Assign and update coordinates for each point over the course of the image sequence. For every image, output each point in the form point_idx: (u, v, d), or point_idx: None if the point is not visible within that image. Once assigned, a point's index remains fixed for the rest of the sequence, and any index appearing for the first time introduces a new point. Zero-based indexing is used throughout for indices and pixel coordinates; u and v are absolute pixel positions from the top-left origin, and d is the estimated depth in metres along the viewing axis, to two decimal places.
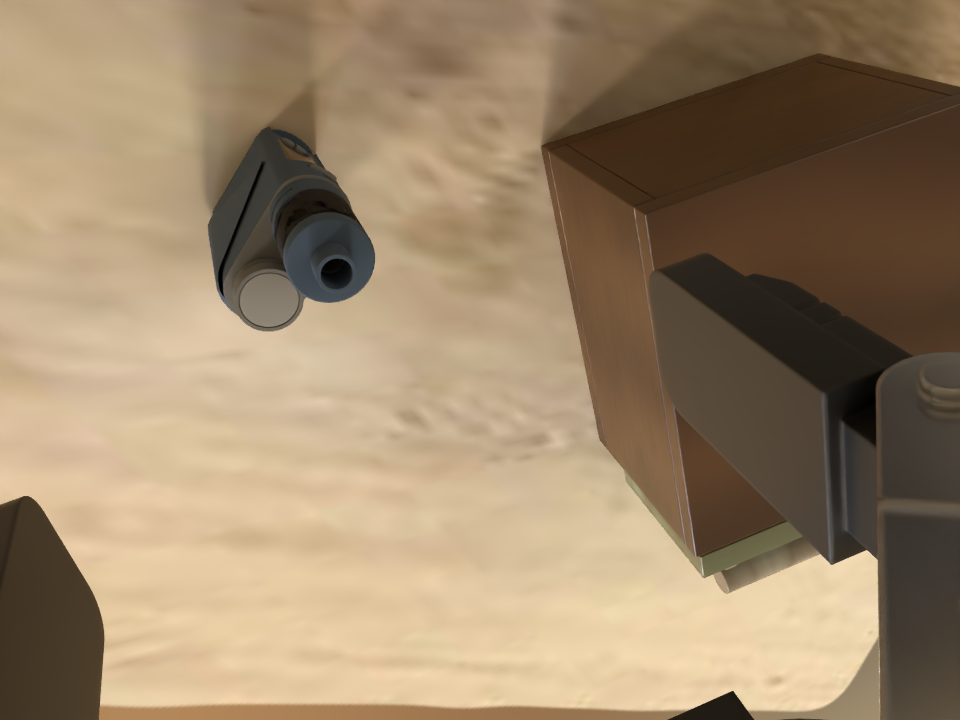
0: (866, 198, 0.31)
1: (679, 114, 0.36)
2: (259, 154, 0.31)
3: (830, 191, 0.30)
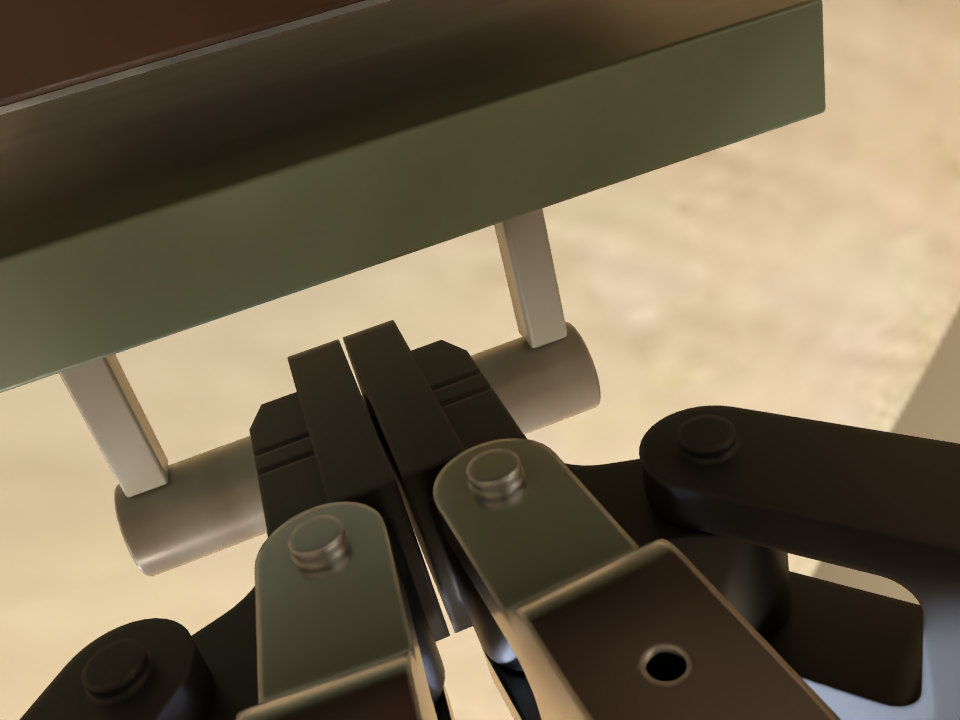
0: None
1: None
2: None
3: None
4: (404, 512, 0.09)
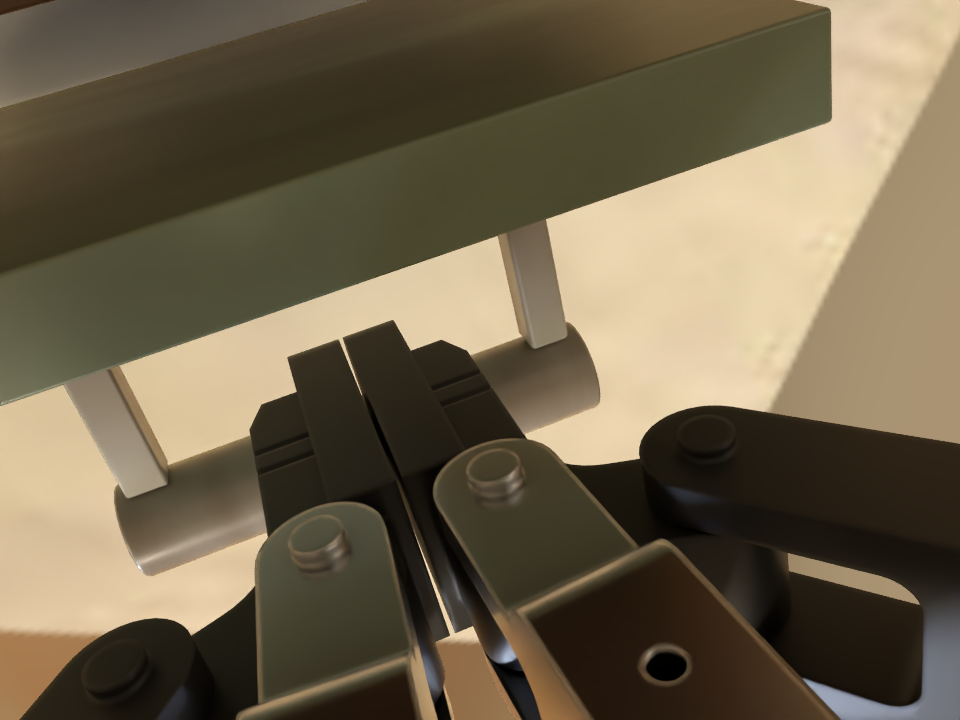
0: None
1: None
2: None
3: None
4: (404, 512, 0.09)
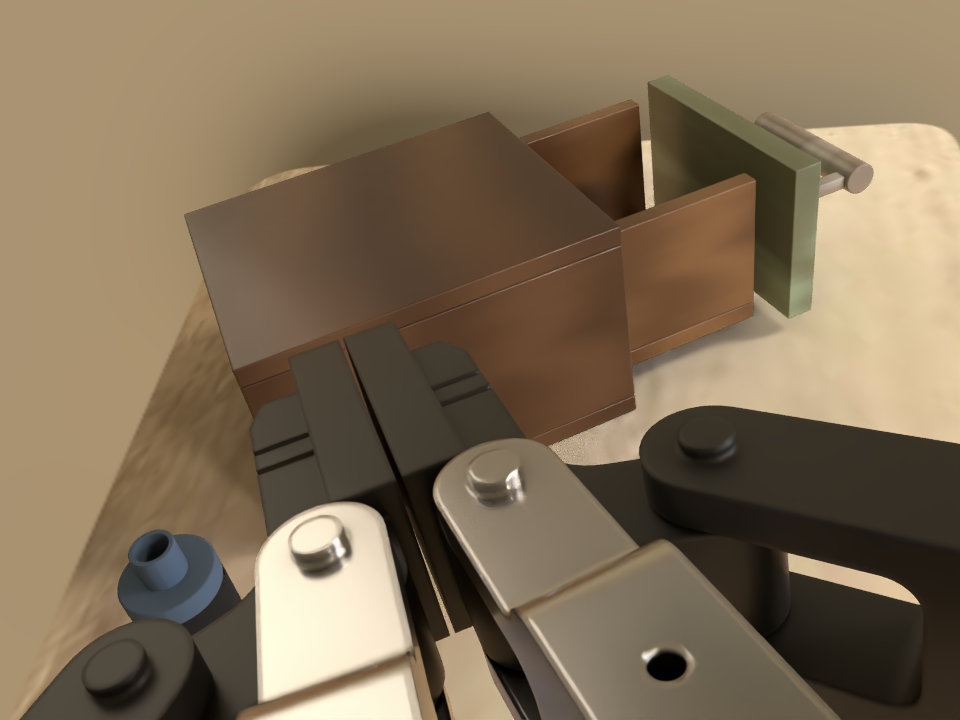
0: (251, 244, 0.37)
1: None
2: None
3: (240, 266, 0.36)
4: (404, 512, 0.09)
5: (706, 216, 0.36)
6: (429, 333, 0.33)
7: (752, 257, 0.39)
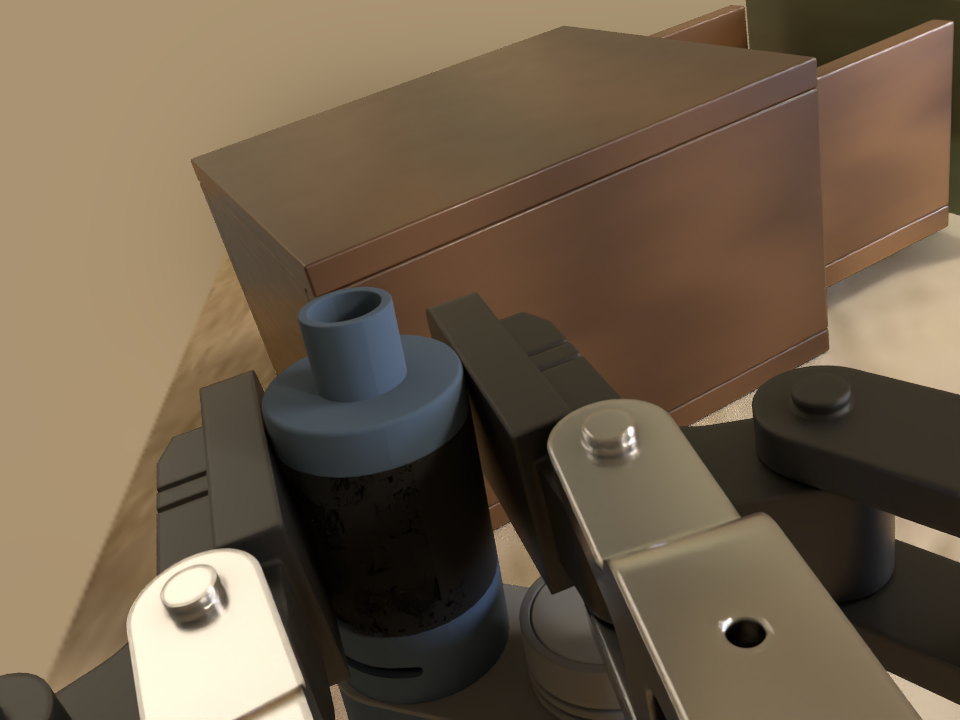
0: (292, 163, 0.27)
1: None
2: None
3: (282, 181, 0.26)
4: (294, 556, 0.09)
5: (899, 71, 0.27)
6: (577, 215, 0.22)
7: (948, 137, 0.29)
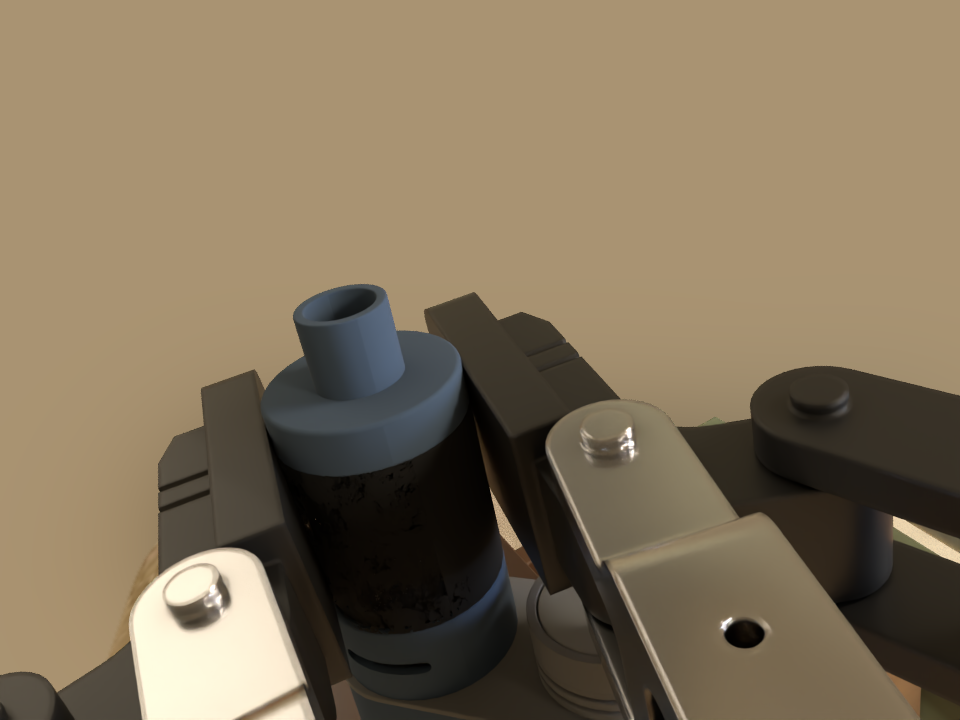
0: None
1: None
2: None
3: None
4: (296, 555, 0.09)
5: None
6: None
7: None
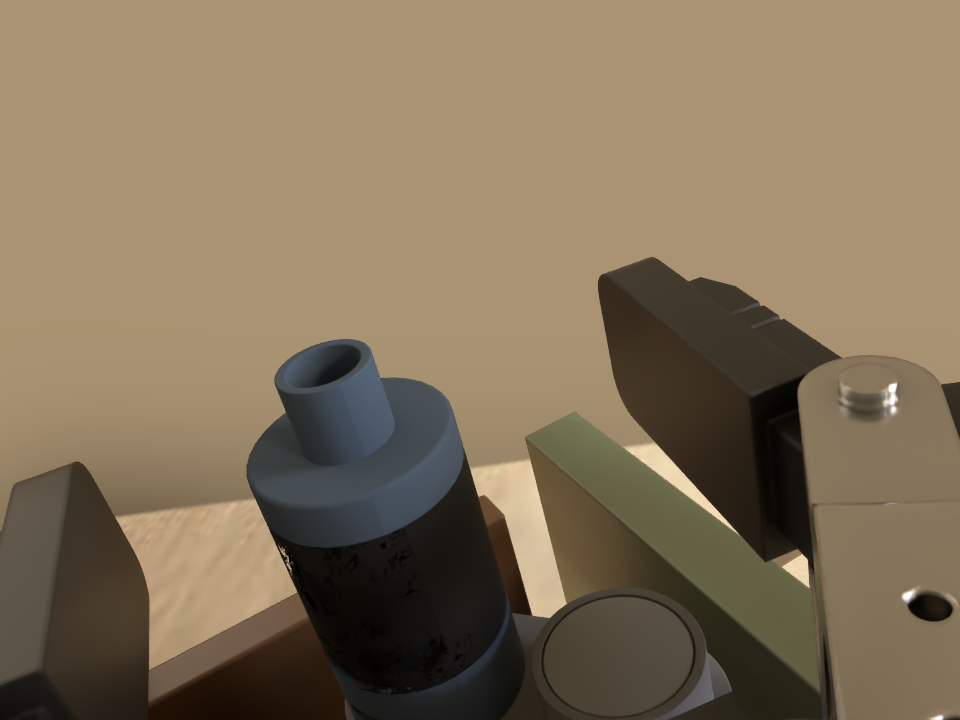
0: None
1: None
2: None
3: None
4: (59, 702, 0.08)
5: None
6: None
7: None
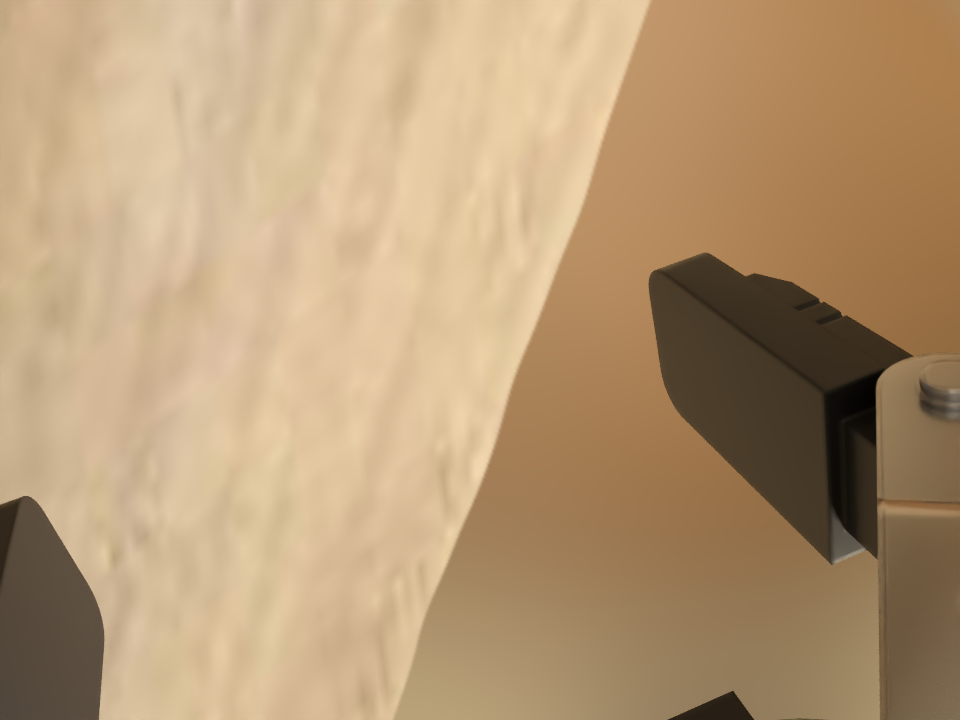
0: None
1: None
2: None
3: None
4: None
5: None
6: None
7: None
